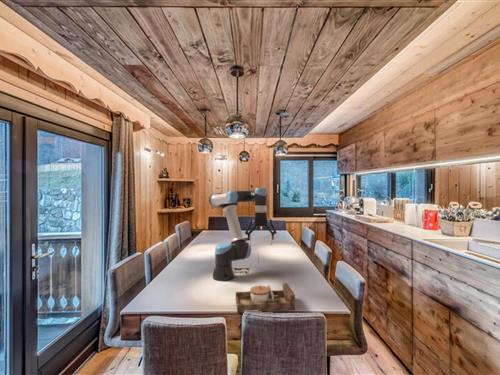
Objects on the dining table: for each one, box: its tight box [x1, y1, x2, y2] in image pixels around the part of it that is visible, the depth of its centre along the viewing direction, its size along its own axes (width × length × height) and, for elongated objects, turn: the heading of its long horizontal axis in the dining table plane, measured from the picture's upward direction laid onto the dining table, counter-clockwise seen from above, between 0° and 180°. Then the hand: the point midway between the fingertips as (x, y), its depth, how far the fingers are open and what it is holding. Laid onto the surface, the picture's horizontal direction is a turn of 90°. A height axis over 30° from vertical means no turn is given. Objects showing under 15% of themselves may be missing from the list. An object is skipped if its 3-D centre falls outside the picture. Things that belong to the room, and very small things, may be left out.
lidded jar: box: [249, 285, 270, 303], centre depth 141 cm, size 11×11×9 cm
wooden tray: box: [235, 282, 296, 314], centre depth 142 cm, size 30×16×8 cm, turn 96°
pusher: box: [267, 284, 279, 303], centre depth 142 cm, size 5×13×7 cm, turn 6°
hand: (260, 244), depth 166 cm, fingers open, 13 cm apart
